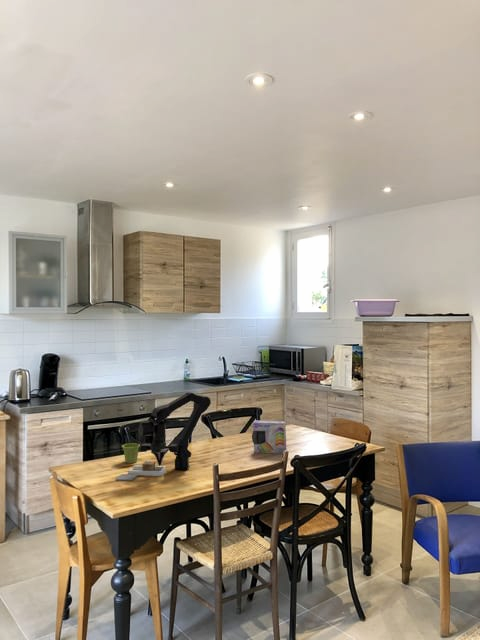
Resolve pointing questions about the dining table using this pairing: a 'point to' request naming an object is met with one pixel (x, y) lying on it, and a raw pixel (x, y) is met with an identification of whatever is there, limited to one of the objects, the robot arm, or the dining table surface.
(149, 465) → the walnut block
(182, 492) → the dining table surface
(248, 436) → the dining table surface
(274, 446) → the cake pan box
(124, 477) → the slate coaster
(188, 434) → the robot arm
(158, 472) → the channel
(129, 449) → the plant pot
